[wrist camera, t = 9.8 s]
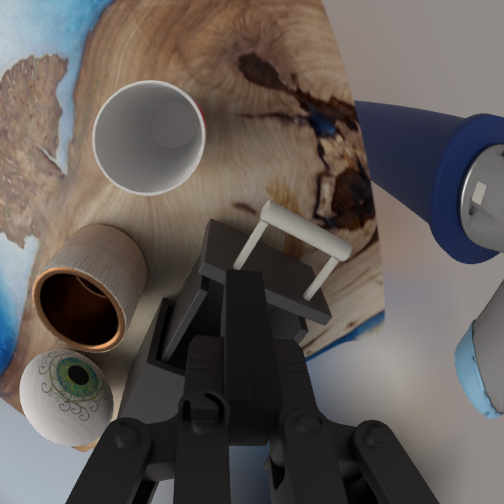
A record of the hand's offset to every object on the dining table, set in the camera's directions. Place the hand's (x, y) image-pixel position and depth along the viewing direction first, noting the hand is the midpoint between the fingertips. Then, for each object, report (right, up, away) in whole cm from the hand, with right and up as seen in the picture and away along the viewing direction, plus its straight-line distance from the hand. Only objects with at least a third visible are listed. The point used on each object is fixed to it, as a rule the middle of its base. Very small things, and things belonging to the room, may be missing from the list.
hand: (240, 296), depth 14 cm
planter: (-17, +1, +21) cm, 27 cm away
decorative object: (-27, -16, +29) cm, 43 cm away
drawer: (-1, -1, +22) cm, 22 cm away
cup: (-7, +14, +14) cm, 22 cm away
